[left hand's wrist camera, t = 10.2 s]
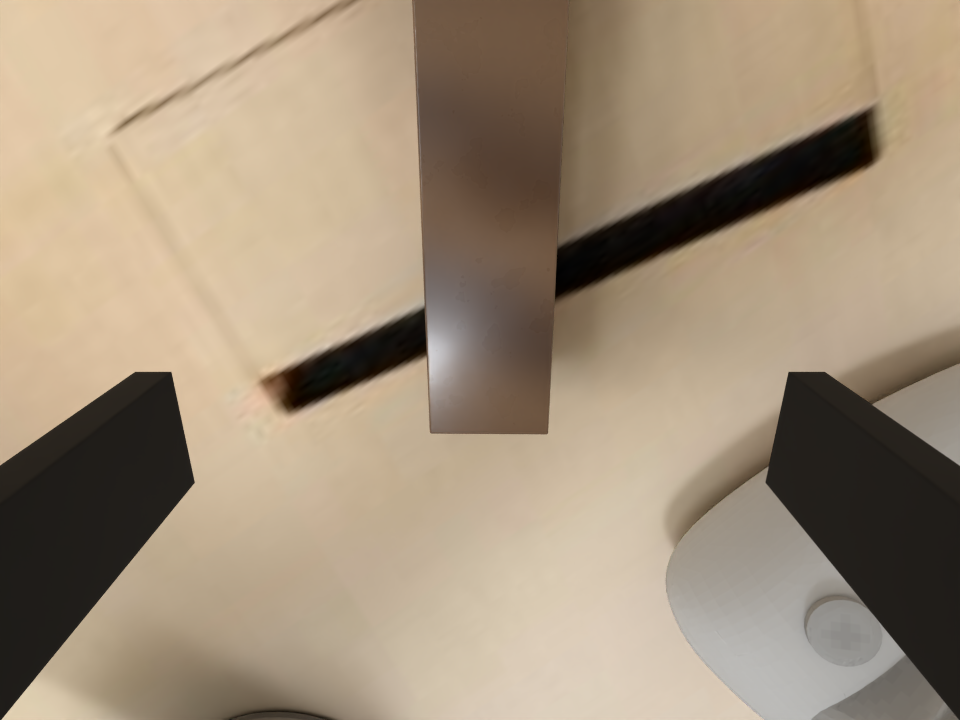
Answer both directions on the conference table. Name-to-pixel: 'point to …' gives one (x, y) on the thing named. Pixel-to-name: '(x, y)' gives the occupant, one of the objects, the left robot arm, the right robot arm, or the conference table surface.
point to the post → (490, 206)
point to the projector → (802, 598)
